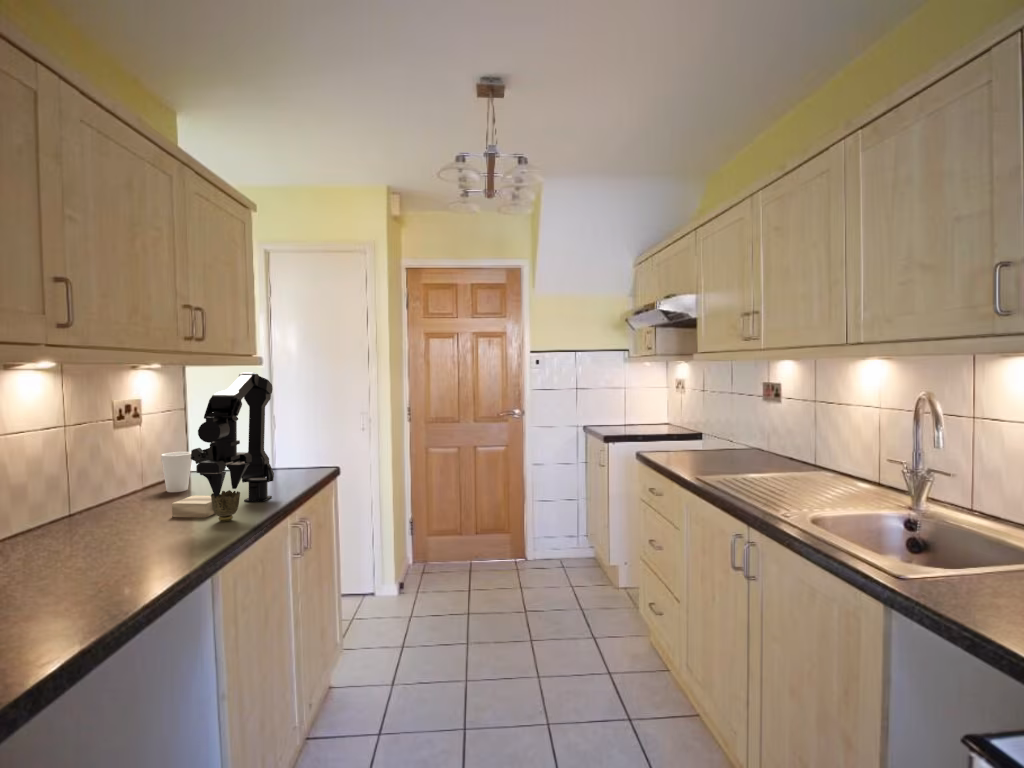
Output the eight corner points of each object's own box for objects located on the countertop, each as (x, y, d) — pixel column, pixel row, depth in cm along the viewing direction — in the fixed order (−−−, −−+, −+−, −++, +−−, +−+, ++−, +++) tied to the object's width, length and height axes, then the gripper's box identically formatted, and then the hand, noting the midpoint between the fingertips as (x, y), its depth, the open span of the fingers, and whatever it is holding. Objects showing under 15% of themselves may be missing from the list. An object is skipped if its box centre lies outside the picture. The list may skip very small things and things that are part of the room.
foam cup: (198, 488, 196) (198, 452, 196) (176, 494, 187) (176, 456, 187) (177, 486, 199) (177, 451, 198) (155, 492, 190) (154, 455, 189)
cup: (218, 526, 150) (218, 497, 150) (206, 521, 154) (205, 493, 154) (245, 520, 156) (245, 492, 156) (232, 515, 160) (232, 488, 160)
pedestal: (193, 508, 169) (192, 495, 168) (224, 508, 168) (224, 495, 168) (172, 516, 159) (172, 503, 158) (205, 517, 158) (205, 503, 158)
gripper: (216, 433, 164) (216, 484, 165) (176, 441, 145) (177, 499, 146) (252, 434, 164) (252, 485, 164) (217, 442, 145) (218, 500, 146)
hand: (225, 492), depth 155 cm, fingers open, 9 cm apart
